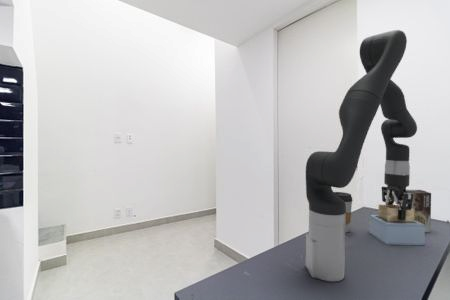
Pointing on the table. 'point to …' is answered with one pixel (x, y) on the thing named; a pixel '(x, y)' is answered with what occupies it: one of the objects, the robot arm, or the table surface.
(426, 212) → the coffee box
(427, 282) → the table surface
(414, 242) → the base crate
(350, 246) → the table surface
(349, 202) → the coffee cup
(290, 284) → the table surface
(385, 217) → the small crate
